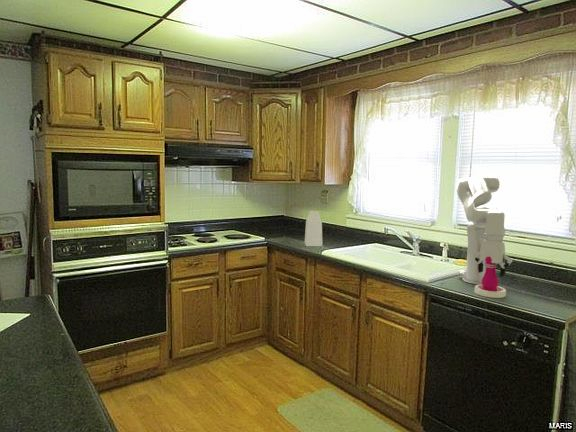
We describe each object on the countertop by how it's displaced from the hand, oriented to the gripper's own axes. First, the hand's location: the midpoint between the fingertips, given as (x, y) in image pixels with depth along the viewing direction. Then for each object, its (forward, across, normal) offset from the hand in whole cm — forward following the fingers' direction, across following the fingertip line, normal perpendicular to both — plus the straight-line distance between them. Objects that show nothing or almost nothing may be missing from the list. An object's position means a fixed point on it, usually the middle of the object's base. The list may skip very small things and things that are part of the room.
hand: (491, 274), depth 192 cm
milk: (+9, -134, +16) cm, 135 cm away
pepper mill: (+9, 0, 0) cm, 9 cm away
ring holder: (+9, 0, 0) cm, 9 cm away
